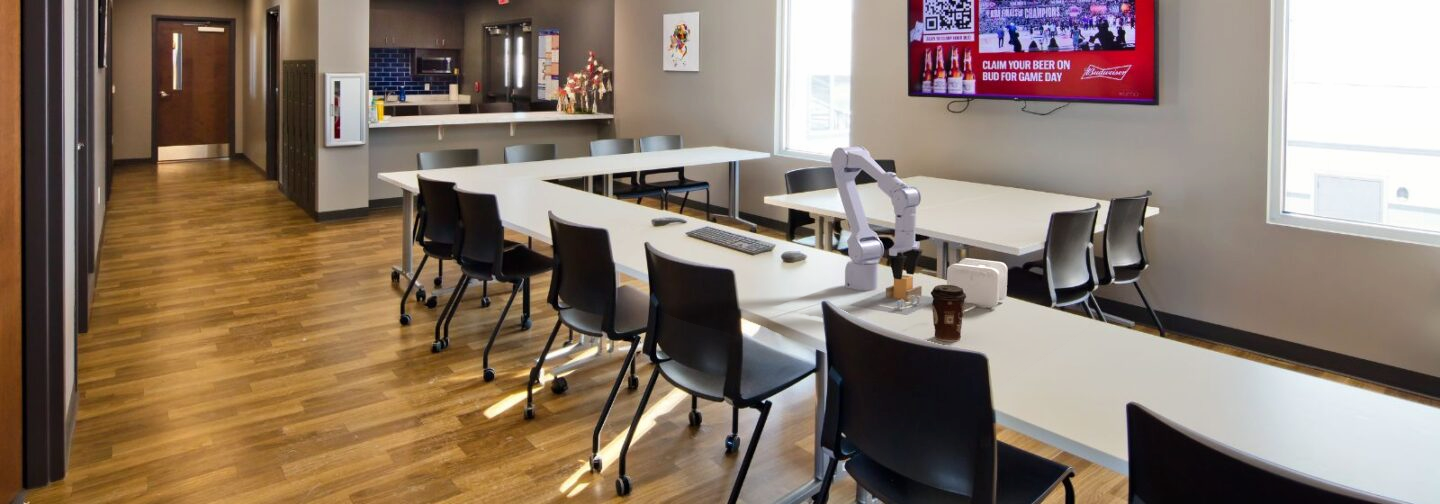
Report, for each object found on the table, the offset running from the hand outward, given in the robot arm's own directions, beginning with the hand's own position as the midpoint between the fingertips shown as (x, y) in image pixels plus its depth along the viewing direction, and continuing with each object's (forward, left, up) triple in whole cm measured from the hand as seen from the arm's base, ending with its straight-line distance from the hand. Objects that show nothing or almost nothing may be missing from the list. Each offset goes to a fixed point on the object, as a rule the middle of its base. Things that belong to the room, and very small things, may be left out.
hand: (903, 276), depth 267 cm
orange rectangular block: (0, 0, -6) cm, 6 cm away
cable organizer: (+18, +10, -8) cm, 22 cm away
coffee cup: (+27, -28, -7) cm, 40 cm away
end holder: (0, 0, -6) cm, 6 cm away
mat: (+1, -6, -7) cm, 9 cm away
